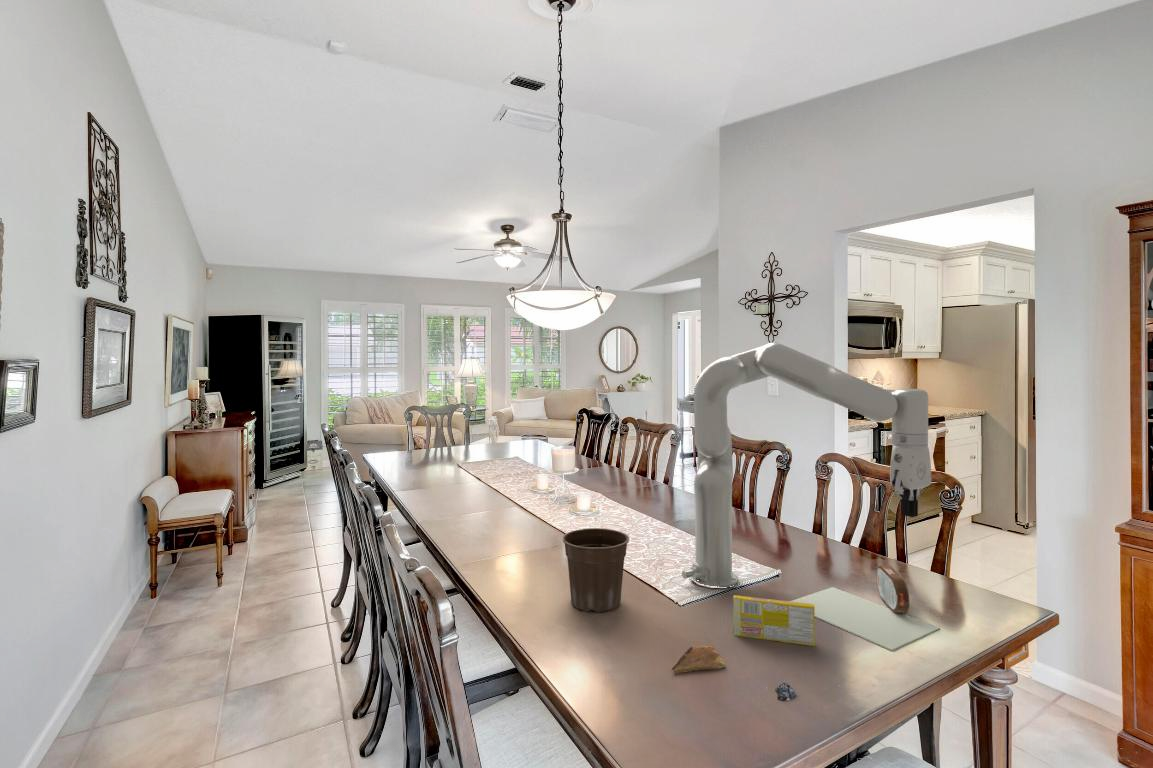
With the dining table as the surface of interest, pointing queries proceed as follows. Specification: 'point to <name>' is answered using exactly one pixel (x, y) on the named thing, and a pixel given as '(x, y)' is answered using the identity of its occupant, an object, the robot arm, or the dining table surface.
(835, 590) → the placemat
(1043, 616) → the dining table surface
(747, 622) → the candy box
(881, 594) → the tin
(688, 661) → the shard
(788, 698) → the blueberries
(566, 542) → the plant pot
